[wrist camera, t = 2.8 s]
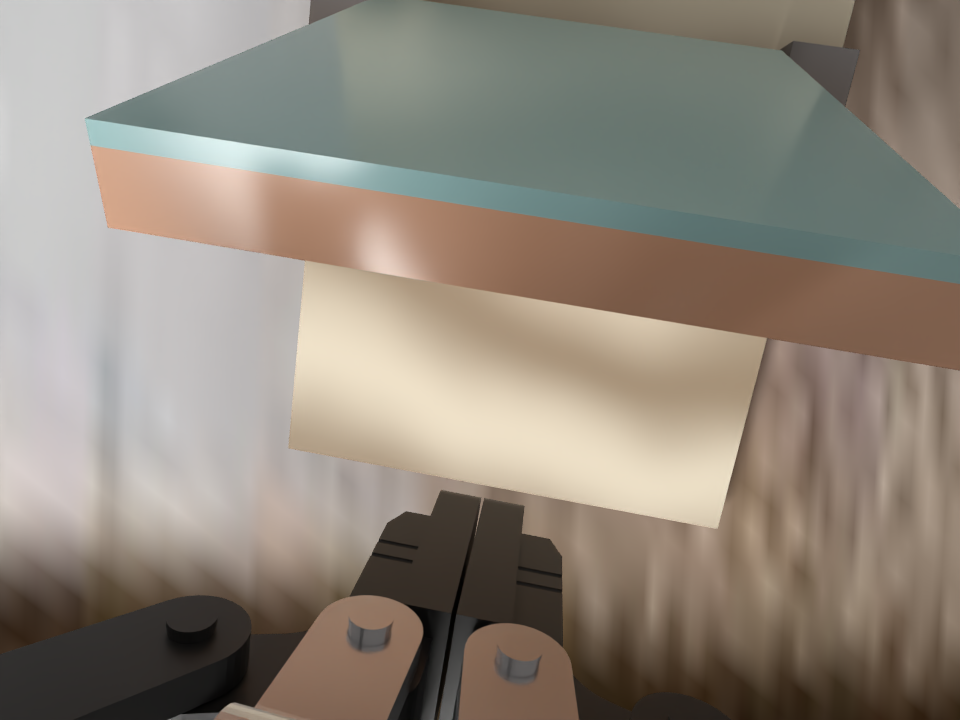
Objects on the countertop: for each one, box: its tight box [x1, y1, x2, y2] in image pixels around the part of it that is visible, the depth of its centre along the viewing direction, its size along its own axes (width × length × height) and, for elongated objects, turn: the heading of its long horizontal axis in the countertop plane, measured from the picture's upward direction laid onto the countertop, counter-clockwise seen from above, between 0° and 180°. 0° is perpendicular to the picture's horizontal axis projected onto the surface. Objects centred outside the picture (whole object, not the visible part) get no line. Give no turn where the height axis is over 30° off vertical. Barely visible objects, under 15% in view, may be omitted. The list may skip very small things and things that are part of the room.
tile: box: [85, 0, 960, 370], centre depth 13 cm, size 13×10×1 cm
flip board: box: [288, 0, 860, 529], centre depth 19 cm, size 26×14×3 cm, turn 171°
